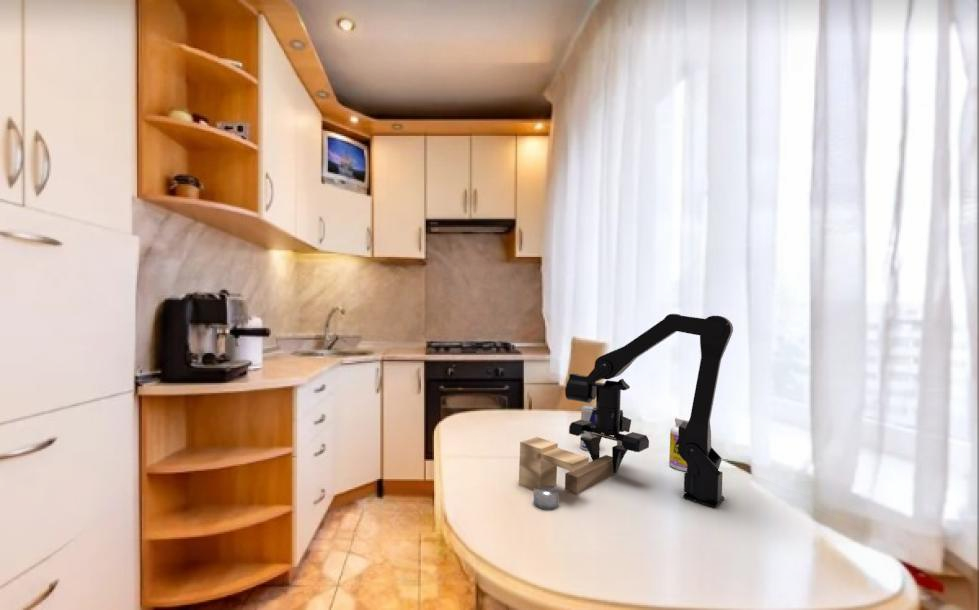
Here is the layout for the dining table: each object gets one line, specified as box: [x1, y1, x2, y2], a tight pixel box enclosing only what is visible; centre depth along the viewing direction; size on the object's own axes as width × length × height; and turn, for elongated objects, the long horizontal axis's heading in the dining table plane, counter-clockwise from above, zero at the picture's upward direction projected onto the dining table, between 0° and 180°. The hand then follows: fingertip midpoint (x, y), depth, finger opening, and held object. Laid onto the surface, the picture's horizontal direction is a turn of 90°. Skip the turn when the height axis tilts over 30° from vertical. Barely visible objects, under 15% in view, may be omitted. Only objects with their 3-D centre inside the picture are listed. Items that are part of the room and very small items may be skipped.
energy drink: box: [579, 404, 596, 452], centre depth 120 cm, size 5×5×12 cm
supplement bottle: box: [668, 415, 690, 472], centre depth 108 cm, size 7×7×13 cm
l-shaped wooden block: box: [518, 436, 590, 492], centre depth 91 cm, size 14×6×10 cm, turn 45°
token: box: [533, 485, 560, 511], centre depth 84 cm, size 5×5×3 cm
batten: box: [564, 454, 617, 495], centre depth 97 cm, size 3×18×4 cm, turn 136°
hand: (606, 469), depth 101 cm, fingers open, 5 cm apart
